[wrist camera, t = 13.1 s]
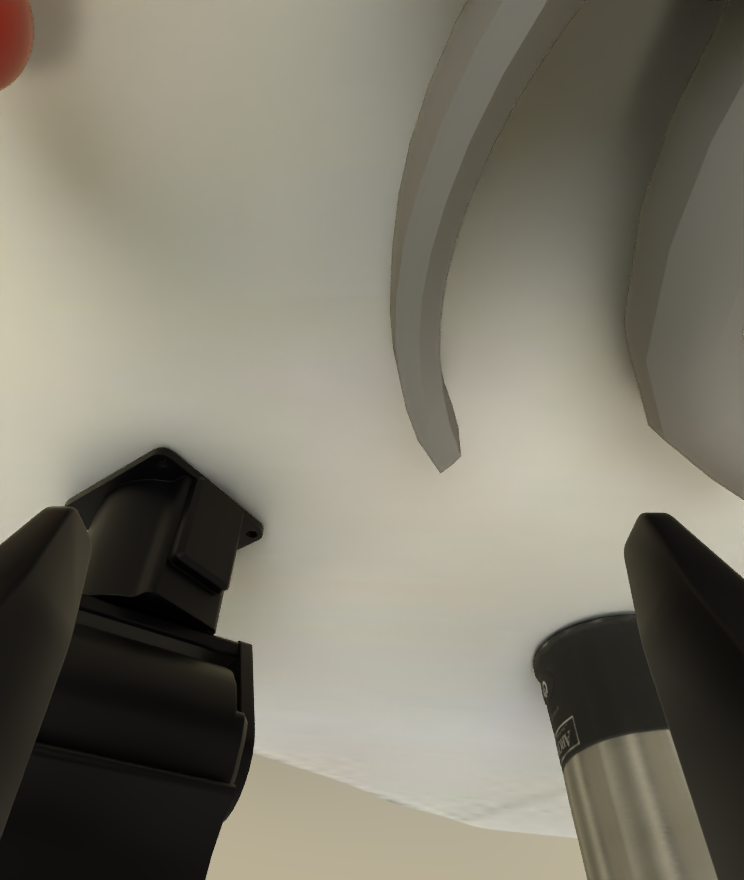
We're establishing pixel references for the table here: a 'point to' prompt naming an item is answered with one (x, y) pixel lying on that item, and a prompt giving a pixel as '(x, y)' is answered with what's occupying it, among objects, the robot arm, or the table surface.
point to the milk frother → (619, 756)
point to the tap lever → (14, 39)
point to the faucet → (657, 242)
